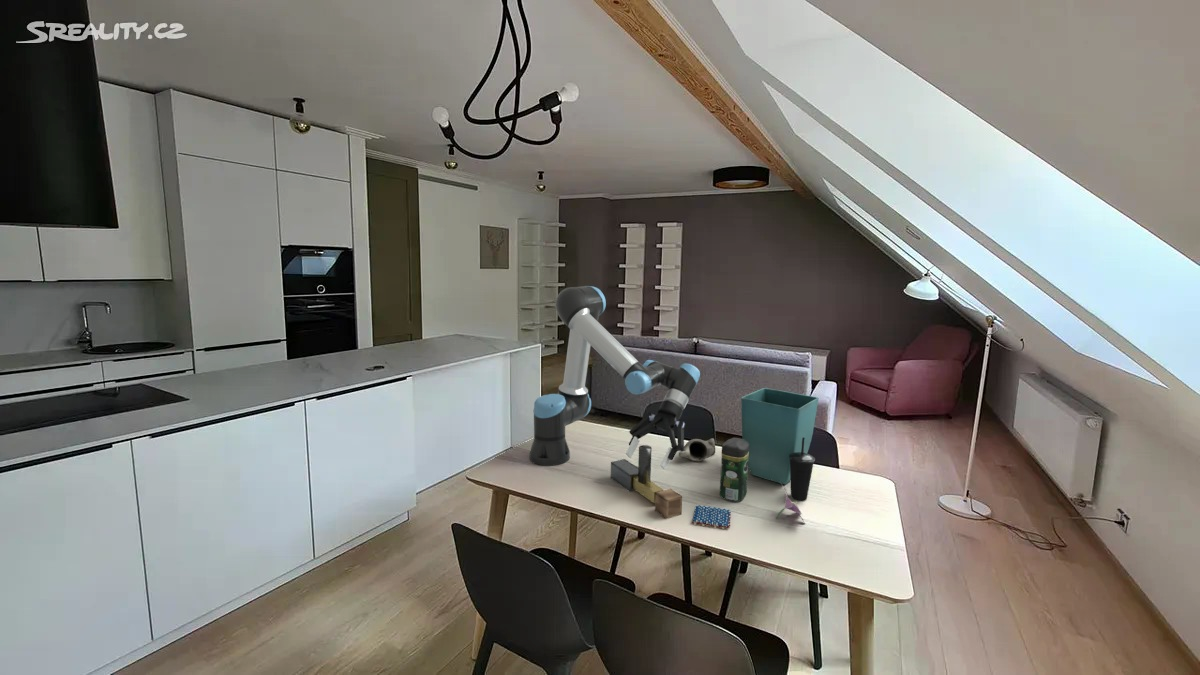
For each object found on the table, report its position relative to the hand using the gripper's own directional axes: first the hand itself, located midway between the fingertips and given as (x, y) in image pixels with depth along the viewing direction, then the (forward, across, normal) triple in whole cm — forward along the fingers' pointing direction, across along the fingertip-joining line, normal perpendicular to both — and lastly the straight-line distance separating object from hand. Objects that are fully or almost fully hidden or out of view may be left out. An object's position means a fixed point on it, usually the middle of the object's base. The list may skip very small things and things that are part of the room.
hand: (644, 461), depth 162 cm
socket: (+11, -12, -6) cm, 17 cm away
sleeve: (+6, +10, -11) cm, 16 cm away
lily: (-4, -40, -22) cm, 46 cm away
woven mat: (+7, -23, -10) cm, 26 cm away
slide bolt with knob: (+6, +4, -9) cm, 11 cm away
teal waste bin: (-24, -24, -40) cm, 52 cm away
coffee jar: (-6, -21, -23) cm, 31 cm away
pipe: (-20, +4, -37) cm, 42 cm away
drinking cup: (-15, -37, -32) cm, 51 cm away
